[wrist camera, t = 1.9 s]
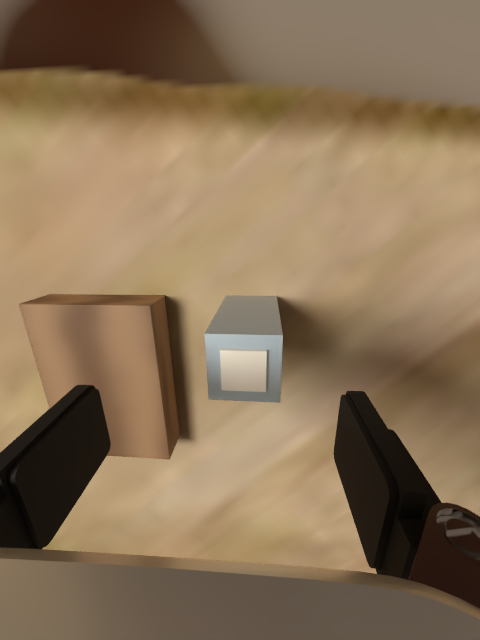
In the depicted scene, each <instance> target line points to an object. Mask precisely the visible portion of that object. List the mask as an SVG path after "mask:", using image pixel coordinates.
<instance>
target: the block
mask: <svg viewBox="0 0 480 640" xmlns="http://www.w3.org/2000/svg"><path fill="white" fill-rule="evenodd" d="M282 346H283V333H282V326H281V320H280V314H279V307H278V301H277V296H226V297H225V298H224V300H223V302H222V304H221V305H220V307H219V309H218V311H217V313H216V314H215V316H214V318H213V320H212V321H211V323H210V325H209V327H208V329H207V330H206V332H205V348H206V364H207V380H208V397H209V399H210V400H233V401H257V402H280V395H281V370H282Z"/></svg>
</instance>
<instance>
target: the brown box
mask: <svg viewBox="0 0 480 640" xmlns="http://www.w3.org/2000/svg"><path fill="white" fill-rule="evenodd" d="M19 307H20V310H21V313H22V317H23V320H24V324H25V327H26V330H27V334H28V337H29V341H30V344H31V347H32V351H33V354H34V358H35V361H36V364H37V368H38V371H39V375H40V378H41V381H42V385H43V388H44V392H45V395H46V398H47V402H48V405H49V408H51V407H52V406H53V405H55V404H56V403H57V402H58V401H59V400H60V399H61V398H62V397H63V396H65V395H66V394H67V393H68V392H69V391H70V390H71V389H72V388H74V387H75V386H76V385H93V386H95V388H96V389H98V390H99V392H100V396H101V401H102V405H103V410H104V414H105V419H106V423H107V428H108V432H109V437H110V441H111V447H110V450H109V453H108V454H107V456H123V457H139V458H154V459H170V457H171V455H172V452H173V450H174V447H175V445H176V443H177V440H178V438H179V435H180V432H179V423H178V413H177V404H176V395H175V386H174V377H173V367H172V358H171V349H170V340H169V331H168V321H167V312H166V303H165V295H54V294H49V295H46V296H43V297H40V298H37V299H34V300H30V301H27V302H24V303H21V304H19Z"/></svg>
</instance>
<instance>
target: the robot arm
mask: <svg viewBox="0 0 480 640" xmlns="http://www.w3.org/2000/svg"><path fill="white" fill-rule="evenodd" d="M110 447H111V441H110V437H109V432H108V428H107V423H106V419H105V414H104V410H103V405H102V401H101V396H100V392H99V390H98V389H96V388H95V386H93V385H76V386H75V387H74V388H72V389H71V390H70V391H69V392H68V393H67V394H66V395H65V396H63V397H62V398H61V399H60V400H59V401H58V402H57V403H56V404H55V405H53V406H52V407H51V408H50V409H49V410H48V411H47V412H46V413H44V414H43V415H42V416H41V417H40V418H39V419H38V420H37V421H35V422H34V423H33V424H32V425H31V426H30V427H29V428H28V429H26V430H25V431H24V432H23V433H22V434H21V435H20V436H19V437H17V438H16V439H15V440H14V441H13V442H12V443H11V444H10V445H8V446H7V447H6V448H5V449H4V450H3V451H2V452H1V453H0V640H480V517H479V516H478V515H476V514H475V513H473V512H472V511H470V510H468V509H466V508H463V507H461V506H459V505H456V504H451V503H441V501H440V499H439V498H438V496H437V495H436V493H435V492H434V490H433V489H432V487H431V486H430V484H429V483H428V481H427V480H426V478H425V477H424V475H423V474H422V472H421V471H420V469H419V468H418V466H417V465H416V463H415V461H414V460H413V458H412V457H411V455H410V454H409V452H408V451H407V449H406V448H405V446H404V445H403V443H402V442H401V440H400V439H399V437H398V436H397V434H396V433H395V432H394V431H393V430H390V429H388V428H387V427H386V425H385V423H384V422H383V420H382V419H381V417H380V416H379V414H378V412H377V411H376V409H375V408H374V406H373V404H372V403H371V401H370V400H369V398H368V397H367V395H366V393H365V392H363V391H347V392H346V395H342V396H341V400H340V408H339V415H338V423H337V431H336V438H335V446H334V459H335V463H336V466H337V469H338V473H339V476H340V479H341V482H342V485H343V488H344V491H345V494H346V497H347V500H348V503H349V507H350V510H351V513H352V516H353V519H354V522H355V525H356V528H357V531H358V534H359V537H360V541H361V544H362V547H363V550H364V553H365V556H366V559H367V562H368V564H369V566H370V567H371V568H375V569H376V571H377V574H373V573H366V572H359V571H348V570H337V569H325V568H314V567H303V566H290V565H276V564H262V563H248V562H234V561H219V560H205V559H189V558H174V557H159V556H143V555H127V554H111V553H94V552H77V551H60V550H42V548H43V547H45V546H47V545H48V544H49V543H50V542H51V540H52V539H53V537H54V536H55V534H56V533H57V531H58V530H59V528H60V526H61V525H62V523H63V522H64V520H65V519H66V517H67V516H68V514H69V513H70V511H71V510H72V508H73V507H74V505H75V503H76V502H77V500H78V499H79V497H80V496H81V494H82V493H83V491H84V490H85V488H86V487H87V485H88V483H89V482H90V480H91V479H92V477H93V476H94V474H95V473H96V471H97V470H98V468H99V467H100V465H101V464H102V462H103V460H104V459H105V457H106V456H107V454H108V453H109V450H110Z"/></svg>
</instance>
